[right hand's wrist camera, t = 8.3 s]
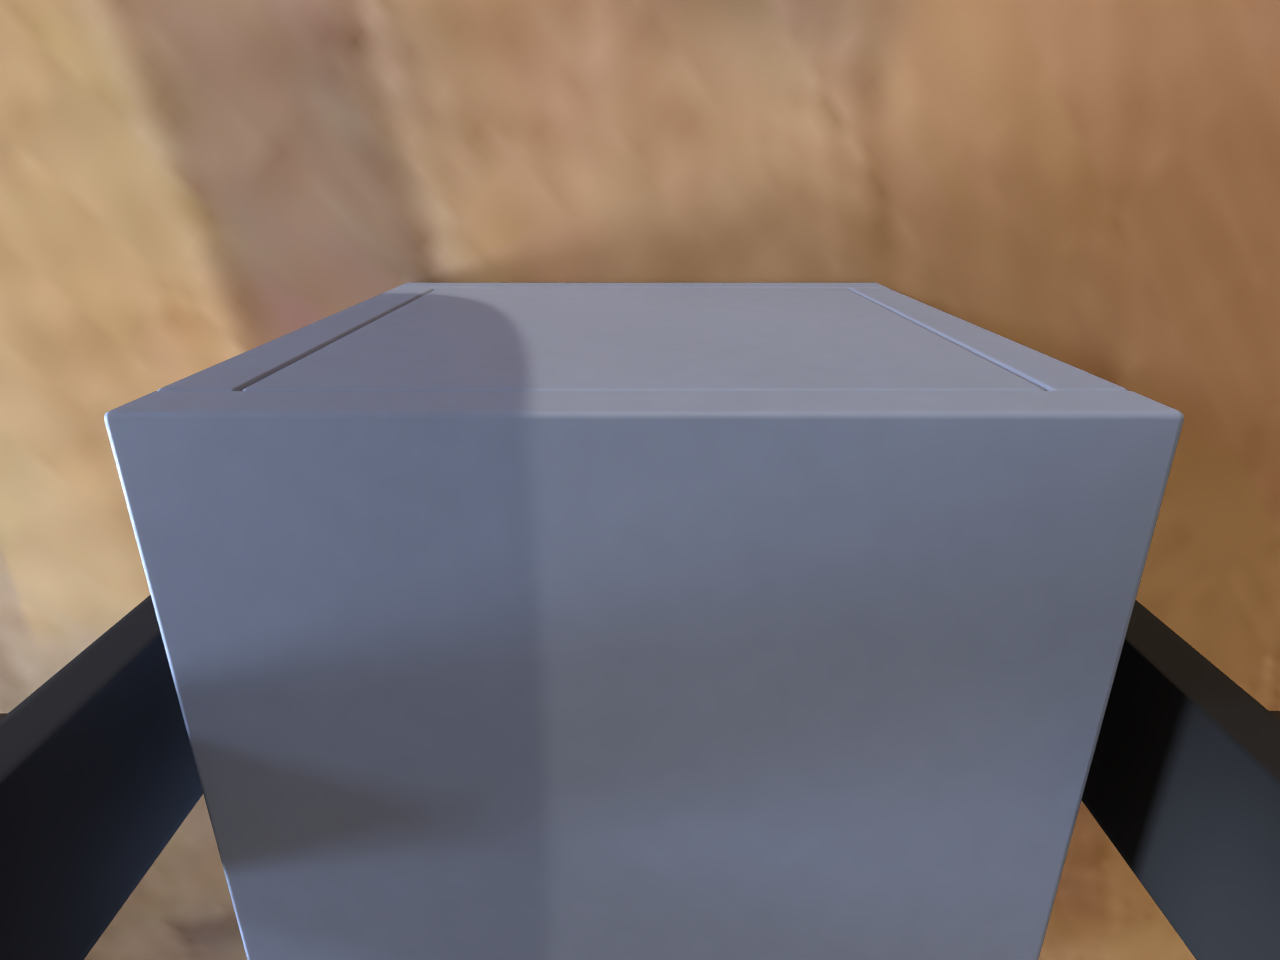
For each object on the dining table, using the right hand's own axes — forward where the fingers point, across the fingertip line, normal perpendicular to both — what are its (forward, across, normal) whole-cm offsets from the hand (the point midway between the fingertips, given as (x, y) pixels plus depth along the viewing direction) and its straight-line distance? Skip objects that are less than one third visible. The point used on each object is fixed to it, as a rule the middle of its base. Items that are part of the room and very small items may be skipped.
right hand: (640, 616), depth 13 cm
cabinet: (+6, 0, -5) cm, 8 cm away
